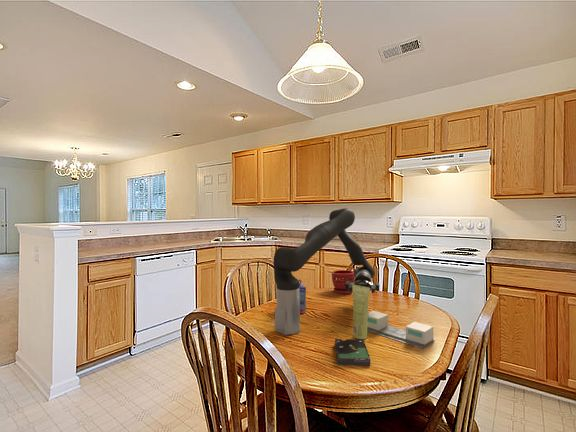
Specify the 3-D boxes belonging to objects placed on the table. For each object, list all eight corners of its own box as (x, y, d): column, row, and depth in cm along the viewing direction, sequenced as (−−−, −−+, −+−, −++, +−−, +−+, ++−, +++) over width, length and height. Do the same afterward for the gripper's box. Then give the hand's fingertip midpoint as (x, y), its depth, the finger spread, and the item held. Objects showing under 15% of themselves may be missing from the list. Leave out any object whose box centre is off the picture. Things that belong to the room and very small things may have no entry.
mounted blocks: (424, 344, 110) (424, 332, 110) (363, 325, 128) (363, 314, 128) (433, 338, 115) (433, 326, 115) (372, 321, 133) (372, 310, 133)
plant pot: (358, 290, 185) (357, 270, 185) (349, 296, 174) (349, 274, 174) (337, 288, 192) (337, 268, 192) (328, 293, 181) (328, 272, 181)
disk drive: (334, 346, 113) (337, 366, 98) (334, 338, 113) (337, 357, 98) (363, 347, 112) (371, 367, 98) (363, 339, 112) (371, 358, 98)
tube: (367, 334, 122) (367, 284, 121) (370, 340, 117) (369, 287, 116) (352, 334, 122) (352, 284, 122) (354, 339, 117) (354, 287, 116)
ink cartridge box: (306, 313, 147) (306, 282, 147) (295, 314, 146) (294, 283, 145) (300, 306, 157) (299, 277, 156) (289, 307, 155) (289, 278, 155)
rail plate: (422, 349, 109) (422, 346, 109) (361, 329, 127) (361, 326, 127) (435, 340, 116) (435, 337, 116) (375, 322, 134) (375, 320, 134)
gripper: (347, 272, 147) (344, 280, 131) (379, 273, 143) (379, 282, 128) (347, 288, 147) (344, 298, 132) (379, 289, 144) (379, 300, 128)
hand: (361, 290), depth 130 cm, fingers open, 8 cm apart
